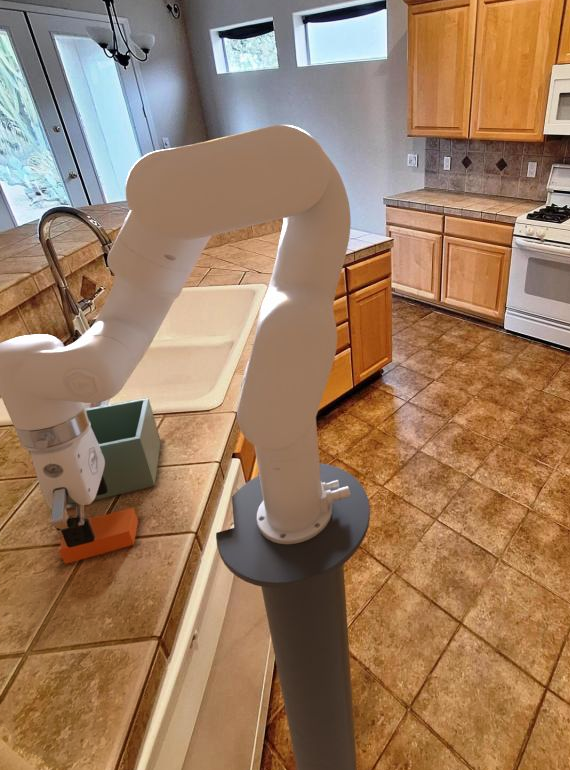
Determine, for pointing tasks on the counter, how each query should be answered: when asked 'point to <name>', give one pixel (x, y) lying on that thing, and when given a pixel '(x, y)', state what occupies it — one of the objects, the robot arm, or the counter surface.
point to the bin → (126, 445)
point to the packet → (104, 536)
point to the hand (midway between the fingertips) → (89, 517)
